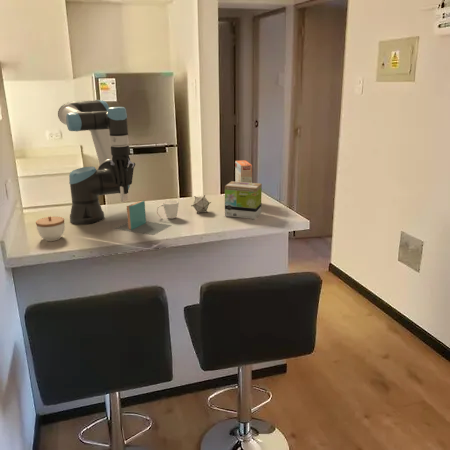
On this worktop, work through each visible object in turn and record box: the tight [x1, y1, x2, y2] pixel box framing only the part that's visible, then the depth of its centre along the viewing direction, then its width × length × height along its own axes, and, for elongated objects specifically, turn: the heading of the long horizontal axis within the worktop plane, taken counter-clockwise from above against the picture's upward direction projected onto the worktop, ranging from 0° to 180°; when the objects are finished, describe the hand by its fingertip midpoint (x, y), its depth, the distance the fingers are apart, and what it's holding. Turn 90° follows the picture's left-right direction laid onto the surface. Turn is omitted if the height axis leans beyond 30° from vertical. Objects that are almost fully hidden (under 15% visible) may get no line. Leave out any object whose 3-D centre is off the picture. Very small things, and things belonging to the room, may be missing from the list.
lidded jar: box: [35, 215, 66, 242], centre depth 190 cm, size 11×11×9 cm
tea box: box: [224, 180, 263, 220], centre depth 217 cm, size 15×10×15 cm, turn 71°
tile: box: [126, 200, 147, 230], centre depth 202 cm, size 2×10×10 cm, turn 154°
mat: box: [114, 220, 172, 236], centre depth 202 cm, size 20×14×1 cm
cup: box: [156, 199, 180, 220], centre depth 213 cm, size 7×10×8 cm
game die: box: [190, 194, 212, 214], centre depth 223 cm, size 9×8×10 cm
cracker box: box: [234, 159, 253, 183], centre depth 234 cm, size 14×6×21 cm, turn 10°
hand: (124, 200), depth 203 cm, fingers closed
